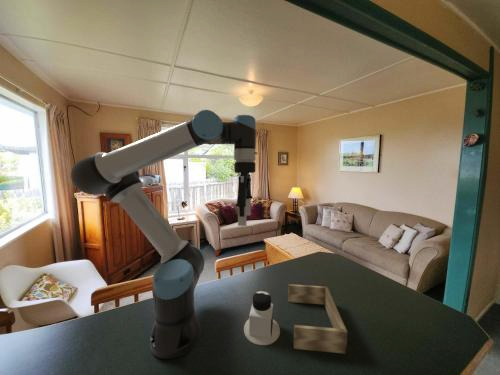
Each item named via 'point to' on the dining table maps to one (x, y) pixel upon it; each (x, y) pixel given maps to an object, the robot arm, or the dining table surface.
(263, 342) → the saucer
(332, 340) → the cubby
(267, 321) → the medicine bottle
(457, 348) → the dining table surface
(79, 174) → the robot arm
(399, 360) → the dining table surface
